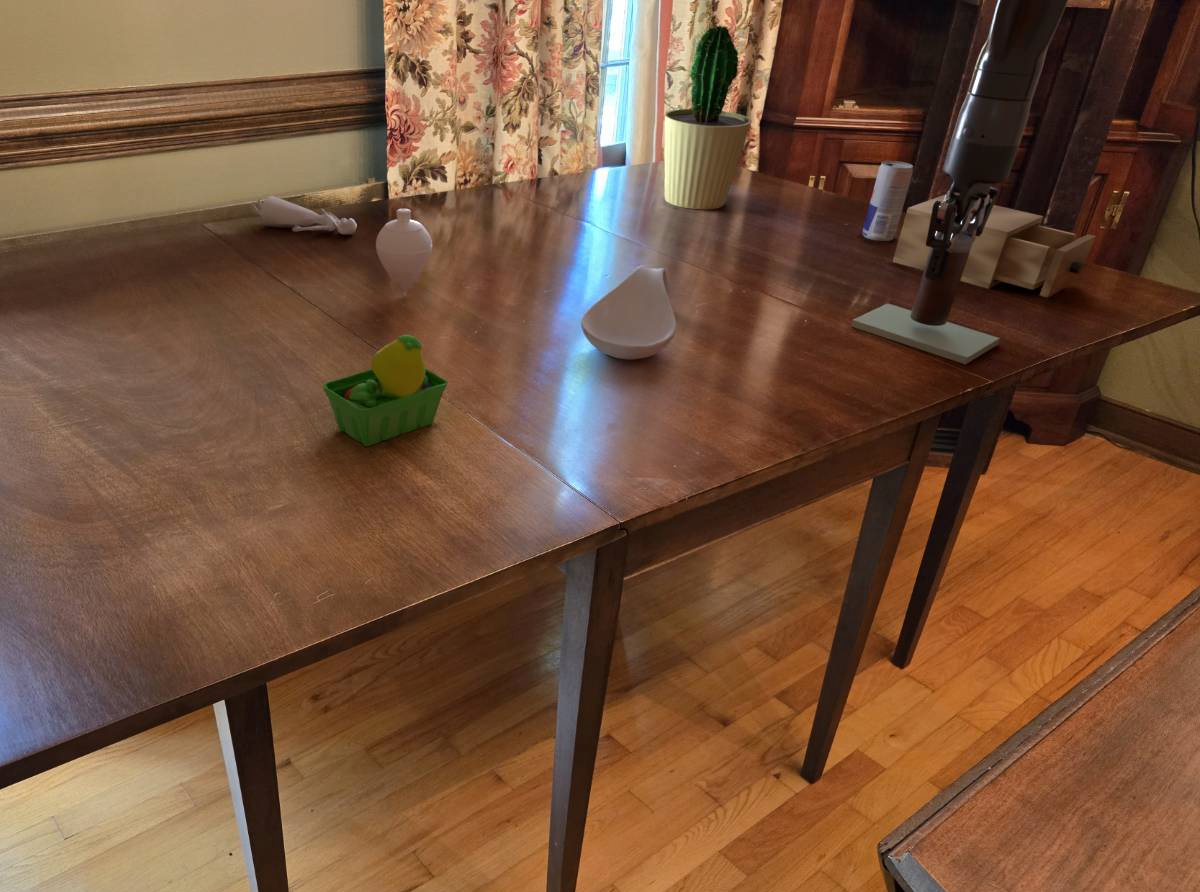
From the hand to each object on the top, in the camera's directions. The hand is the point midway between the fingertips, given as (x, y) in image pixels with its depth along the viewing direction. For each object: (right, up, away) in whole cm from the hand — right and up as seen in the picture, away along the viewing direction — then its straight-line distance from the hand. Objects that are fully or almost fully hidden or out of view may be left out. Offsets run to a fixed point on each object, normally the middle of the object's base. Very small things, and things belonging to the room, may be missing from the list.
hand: (942, 274), depth 125 cm
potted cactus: (-20, +29, +56) cm, 66 cm away
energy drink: (+9, +18, +42) cm, 46 cm away
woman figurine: (-89, +17, +34) cm, 97 cm away
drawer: (+23, +6, +24) cm, 34 cm away
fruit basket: (-70, -23, -22) cm, 77 cm away
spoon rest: (-40, -8, +2) cm, 41 cm away
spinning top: (-71, -1, +10) cm, 71 cm away
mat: (0, -7, +5) cm, 8 cm away
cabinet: (+17, +10, +30) cm, 35 cm away
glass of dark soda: (0, -5, +3) cm, 6 cm away
